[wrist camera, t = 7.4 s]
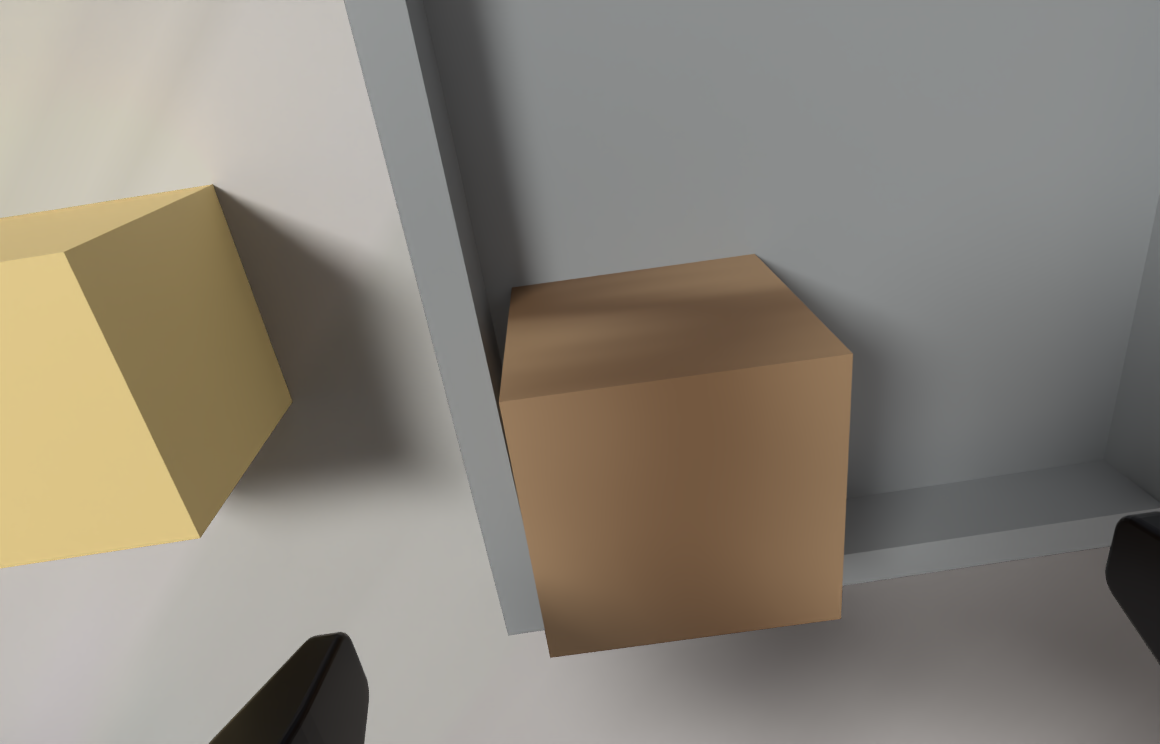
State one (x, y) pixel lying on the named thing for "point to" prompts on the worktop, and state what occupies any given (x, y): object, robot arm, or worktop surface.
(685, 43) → the tray
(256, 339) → the mustard block
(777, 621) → the walnut block
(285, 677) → the robot arm
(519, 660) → the worktop surface
